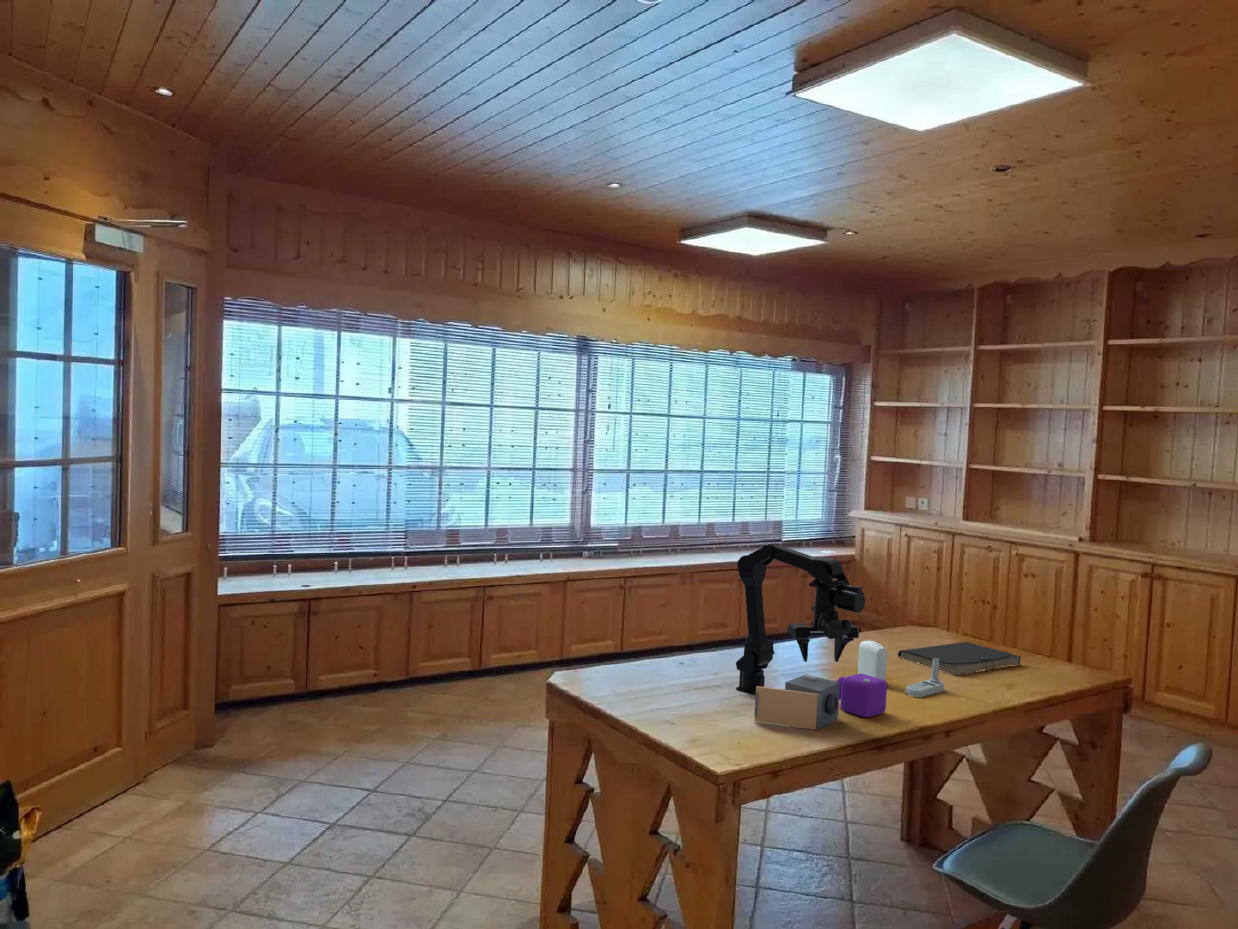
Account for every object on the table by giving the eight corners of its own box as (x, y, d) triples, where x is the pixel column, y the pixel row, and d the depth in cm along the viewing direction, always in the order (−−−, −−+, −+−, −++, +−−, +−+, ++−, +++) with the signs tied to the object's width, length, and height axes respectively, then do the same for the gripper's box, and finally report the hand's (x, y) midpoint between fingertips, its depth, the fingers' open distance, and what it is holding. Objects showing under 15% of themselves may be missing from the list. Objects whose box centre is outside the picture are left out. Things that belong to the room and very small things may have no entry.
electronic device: (903, 663, 255) (933, 655, 264) (901, 695, 256) (931, 686, 265) (919, 667, 251) (949, 659, 260) (917, 700, 252) (947, 691, 261)
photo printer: (855, 677, 272) (857, 638, 271) (866, 676, 273) (869, 637, 273) (875, 687, 262) (878, 646, 261) (887, 686, 263) (889, 645, 263)
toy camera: (842, 700, 247) (844, 666, 246) (889, 712, 238) (891, 676, 238) (825, 709, 239) (827, 673, 238) (873, 721, 230) (875, 684, 229)
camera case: (783, 719, 228) (785, 679, 228) (804, 710, 236) (806, 672, 236) (821, 730, 221) (824, 689, 220) (842, 721, 229) (844, 681, 228)
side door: (754, 722, 224) (755, 687, 224) (754, 720, 226) (756, 686, 225) (819, 731, 220) (821, 696, 219) (820, 729, 221) (822, 694, 221)
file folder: (957, 665, 277) (898, 648, 298) (956, 678, 278) (897, 660, 298) (1022, 655, 294) (961, 640, 315) (1021, 667, 294) (961, 651, 315)
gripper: (806, 612, 225) (802, 671, 226) (871, 612, 230) (866, 670, 231) (788, 602, 236) (784, 658, 237) (850, 602, 241) (846, 658, 242)
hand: (820, 661), depth 237 cm, fingers open, 9 cm apart
